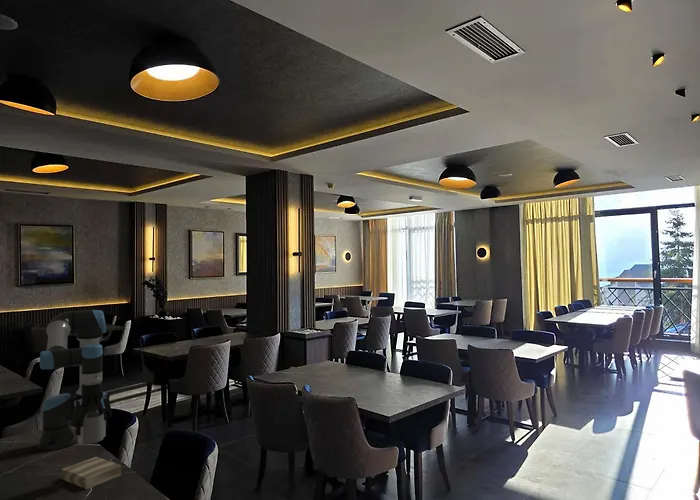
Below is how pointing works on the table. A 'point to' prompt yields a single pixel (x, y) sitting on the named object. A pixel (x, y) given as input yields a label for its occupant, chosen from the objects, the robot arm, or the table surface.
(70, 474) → the oak stand
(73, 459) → the table surface
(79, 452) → the table surface
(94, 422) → the cup
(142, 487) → the table surface
